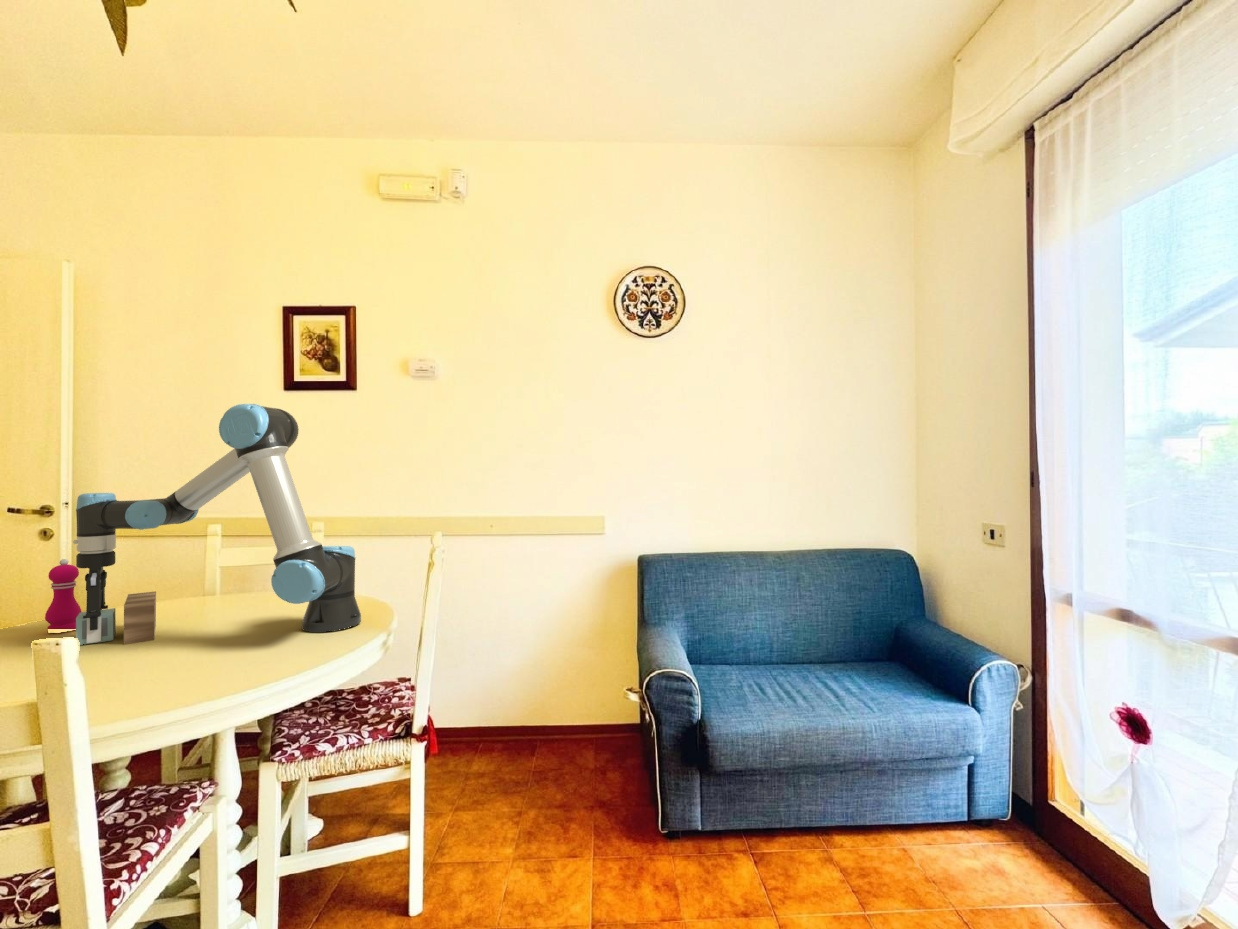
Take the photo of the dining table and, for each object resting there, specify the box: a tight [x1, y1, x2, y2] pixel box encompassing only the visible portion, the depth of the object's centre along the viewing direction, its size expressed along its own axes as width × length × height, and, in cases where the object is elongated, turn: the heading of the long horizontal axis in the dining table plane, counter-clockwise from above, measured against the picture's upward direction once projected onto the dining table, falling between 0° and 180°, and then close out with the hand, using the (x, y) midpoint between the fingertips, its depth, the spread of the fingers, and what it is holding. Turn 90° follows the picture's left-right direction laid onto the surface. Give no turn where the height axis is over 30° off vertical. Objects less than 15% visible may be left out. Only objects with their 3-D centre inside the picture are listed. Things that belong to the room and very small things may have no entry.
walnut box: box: [123, 591, 157, 645], centre depth 151 cm, size 16×6×10 cm, turn 39°
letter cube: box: [75, 607, 117, 646], centre depth 146 cm, size 7×7×7 cm
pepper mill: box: [44, 558, 82, 629], centre depth 154 cm, size 7×7×20 cm
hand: (95, 638), depth 146 cm, fingers closed on letter cube, 7 cm apart
